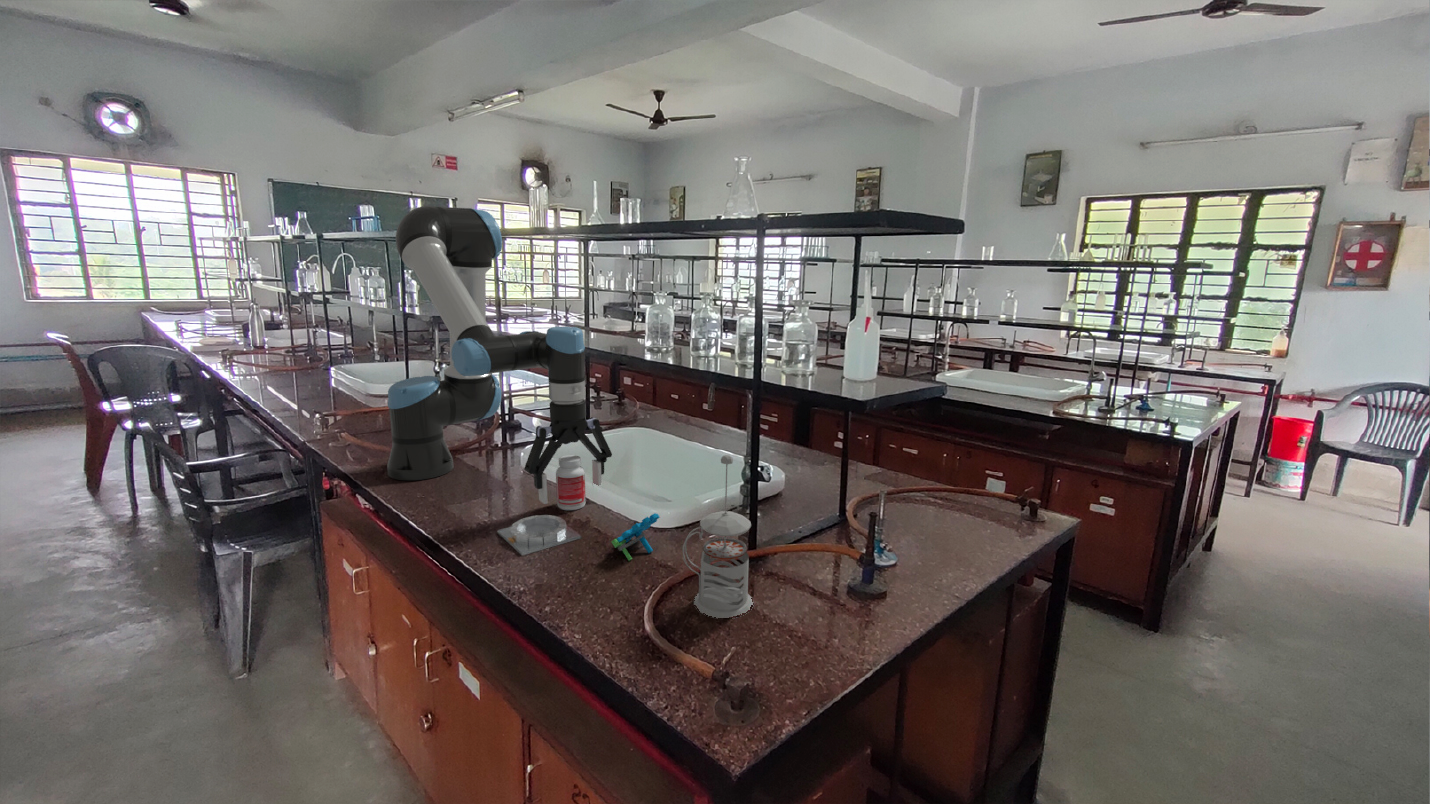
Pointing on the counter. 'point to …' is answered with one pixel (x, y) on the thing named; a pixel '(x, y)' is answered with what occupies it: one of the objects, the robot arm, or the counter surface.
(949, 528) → the counter surface
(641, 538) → the blue knobbed piece
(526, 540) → the duct flange
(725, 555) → the french press
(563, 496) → the pill bottle
